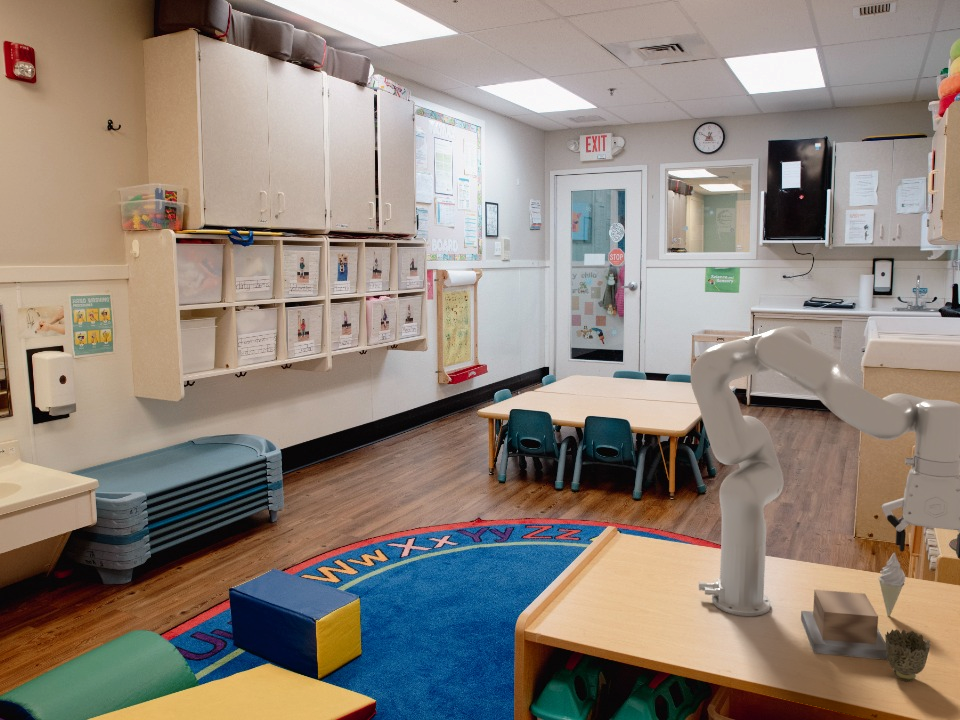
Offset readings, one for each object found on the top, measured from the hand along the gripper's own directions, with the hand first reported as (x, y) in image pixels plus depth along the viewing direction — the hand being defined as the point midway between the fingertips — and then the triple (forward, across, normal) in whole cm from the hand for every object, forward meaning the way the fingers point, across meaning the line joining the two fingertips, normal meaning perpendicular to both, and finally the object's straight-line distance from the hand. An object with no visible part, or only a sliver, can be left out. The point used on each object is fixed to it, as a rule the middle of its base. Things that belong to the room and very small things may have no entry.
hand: (930, 552), depth 149 cm
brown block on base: (+23, -14, +4) cm, 27 cm away
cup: (+23, -4, -7) cm, 24 cm away
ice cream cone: (+23, -5, +18) cm, 30 cm away
